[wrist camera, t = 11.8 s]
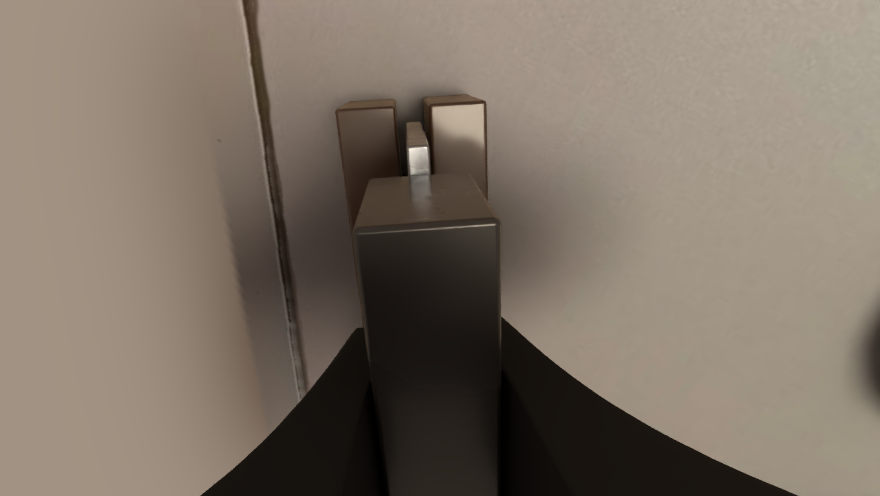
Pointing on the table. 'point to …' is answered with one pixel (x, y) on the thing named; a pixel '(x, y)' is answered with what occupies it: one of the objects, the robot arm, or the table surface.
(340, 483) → the robot arm
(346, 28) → the table surface
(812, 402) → the table surface
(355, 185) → the knife rack
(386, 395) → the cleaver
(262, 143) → the table surface
